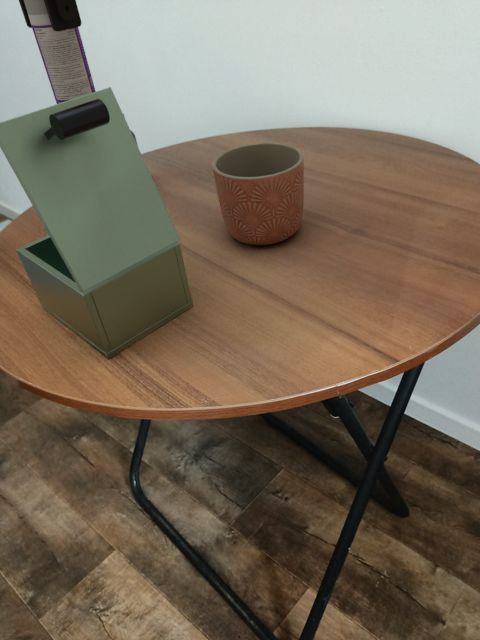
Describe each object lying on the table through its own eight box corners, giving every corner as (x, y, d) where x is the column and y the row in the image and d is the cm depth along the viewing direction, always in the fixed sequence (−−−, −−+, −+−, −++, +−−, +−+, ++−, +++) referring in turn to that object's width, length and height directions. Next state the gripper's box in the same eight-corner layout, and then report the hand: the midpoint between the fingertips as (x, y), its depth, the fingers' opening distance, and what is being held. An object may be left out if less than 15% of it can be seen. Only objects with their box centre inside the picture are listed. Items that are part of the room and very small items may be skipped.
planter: (293, 257, 71) (288, 180, 64) (210, 249, 75) (197, 175, 68) (315, 214, 80) (313, 143, 73) (240, 209, 83) (231, 140, 76)
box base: (43, 308, 67) (15, 249, 62) (123, 265, 74) (105, 208, 68) (108, 359, 58) (83, 295, 53) (193, 306, 65) (179, 243, 59)
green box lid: (-12, 127, 46) (2, 109, 42) (107, 89, 53) (130, 70, 48) (80, 292, 53) (101, 291, 48) (177, 240, 59) (203, 236, 55)
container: (73, 113, 65) (27, -37, 55) (108, 112, 64) (68, -40, 54) (55, 126, 61) (3, -31, 51) (92, 125, 60) (46, -35, 50)
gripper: (70, -242, 41) (128, 24, 53) (-20, -203, 51) (47, 16, 63) (-21, -248, 37) (64, 41, 49) (-100, -204, 47) (-13, 29, 59)
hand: (54, 24), depth 56 cm, fingers closed on container, 4 cm apart
